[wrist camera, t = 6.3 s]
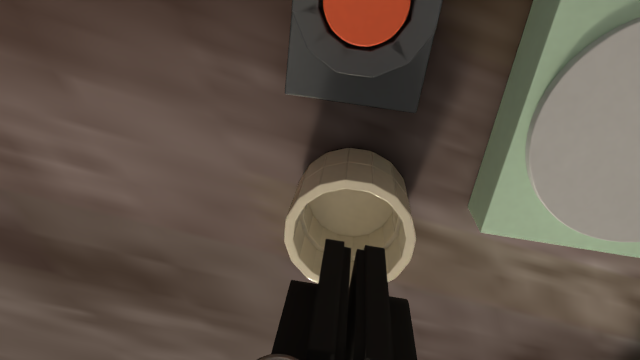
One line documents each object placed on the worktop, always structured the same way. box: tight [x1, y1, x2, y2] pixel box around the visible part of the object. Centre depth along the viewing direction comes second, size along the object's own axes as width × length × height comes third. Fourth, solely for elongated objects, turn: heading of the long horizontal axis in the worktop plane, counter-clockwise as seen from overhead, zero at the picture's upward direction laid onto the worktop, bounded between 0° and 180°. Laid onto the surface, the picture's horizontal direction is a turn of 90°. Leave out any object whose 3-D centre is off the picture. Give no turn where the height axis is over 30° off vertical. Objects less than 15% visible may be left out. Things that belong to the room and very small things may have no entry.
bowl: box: [284, 148, 416, 286], centre depth 23 cm, size 7×7×5 cm
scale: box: [468, 0, 640, 258], centre depth 20 cm, size 13×12×4 cm
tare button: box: [323, 0, 411, 47], centre depth 17 cm, size 4×4×2 cm
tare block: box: [285, 0, 443, 113], centre depth 19 cm, size 10×7×3 cm
